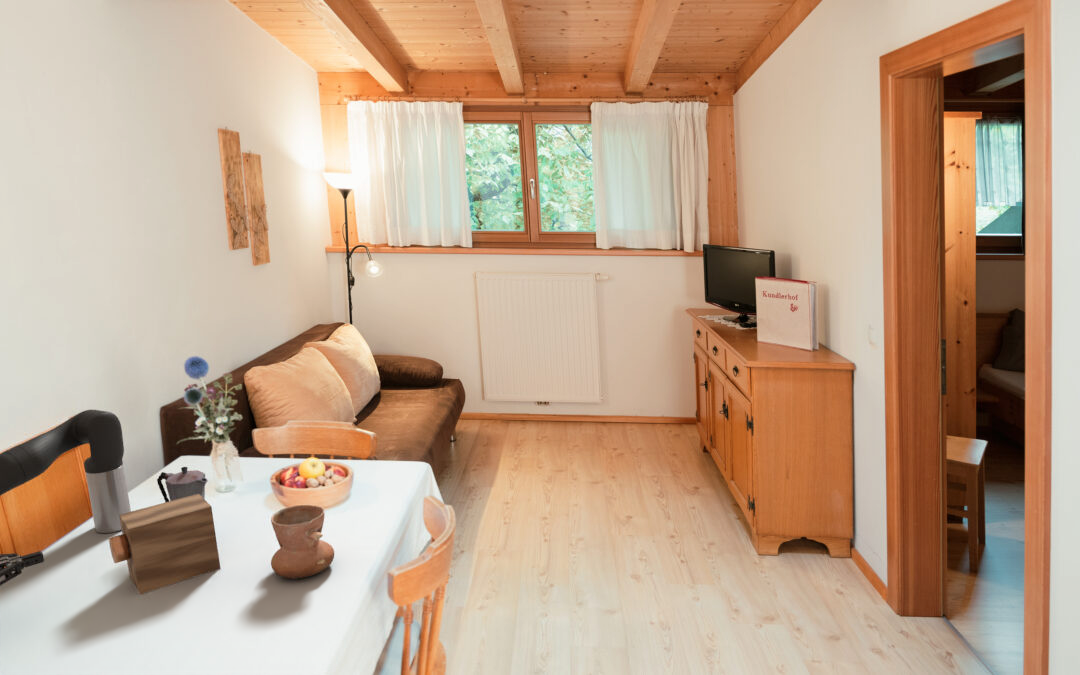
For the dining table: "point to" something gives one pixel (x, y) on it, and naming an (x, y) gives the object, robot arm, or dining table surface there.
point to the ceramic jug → (300, 542)
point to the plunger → (119, 548)
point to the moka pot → (182, 484)
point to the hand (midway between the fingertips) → (43, 556)
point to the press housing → (170, 542)
